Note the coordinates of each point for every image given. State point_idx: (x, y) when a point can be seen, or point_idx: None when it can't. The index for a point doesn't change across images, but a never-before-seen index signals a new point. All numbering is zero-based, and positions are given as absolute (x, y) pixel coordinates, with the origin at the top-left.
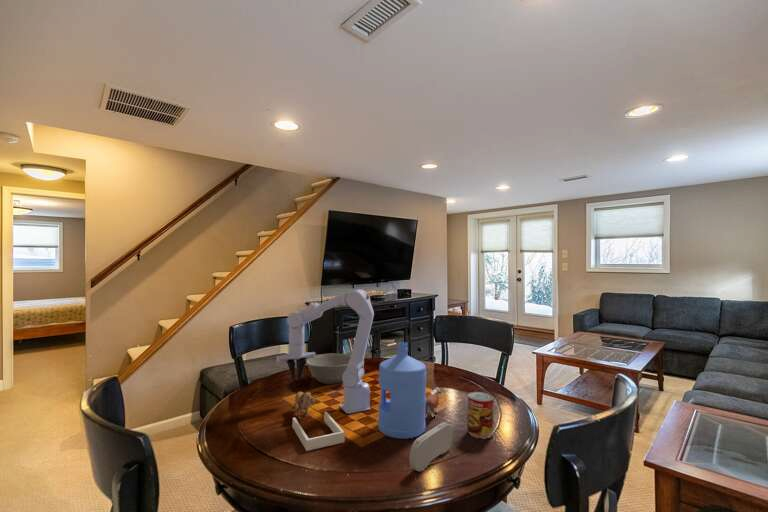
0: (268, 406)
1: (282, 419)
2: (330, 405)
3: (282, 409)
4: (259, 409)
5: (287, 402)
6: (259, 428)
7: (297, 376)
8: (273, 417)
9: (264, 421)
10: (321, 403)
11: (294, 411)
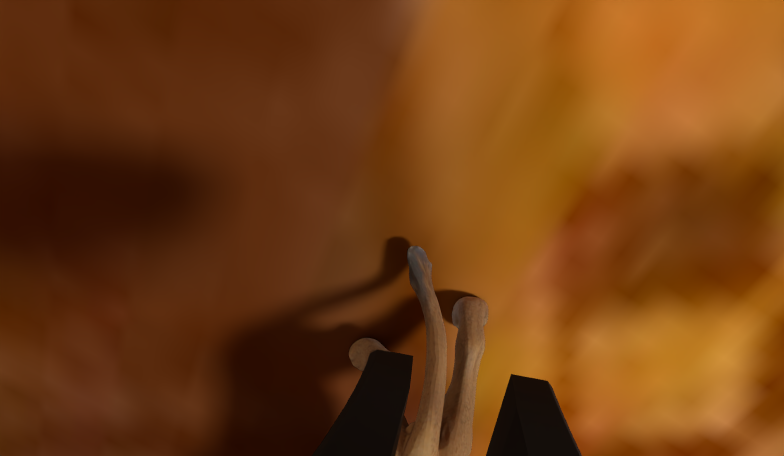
0: (122, 54)
1: (203, 417)
2: (764, 426)
3: (262, 234)
4: (7, 81)
5: (389, 69)
6: (3, 443)
7: (509, 401)
8: (134, 345)
9: (47, 368)
10: (729, 336)
11: (353, 361)
